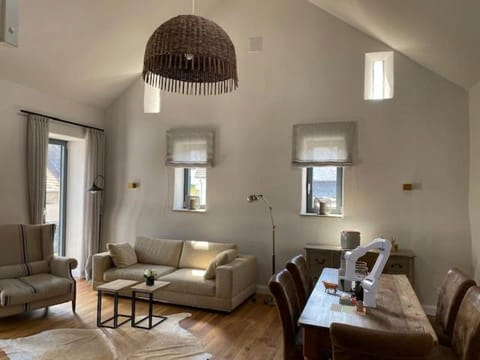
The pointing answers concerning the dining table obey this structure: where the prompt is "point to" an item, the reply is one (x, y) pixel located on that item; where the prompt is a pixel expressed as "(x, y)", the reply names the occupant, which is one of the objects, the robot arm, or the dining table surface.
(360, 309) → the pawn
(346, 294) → the dome
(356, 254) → the robot arm
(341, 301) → the grey open box
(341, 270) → the water bottle
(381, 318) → the dining table surface
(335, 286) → the bull figurine
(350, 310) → the game board
